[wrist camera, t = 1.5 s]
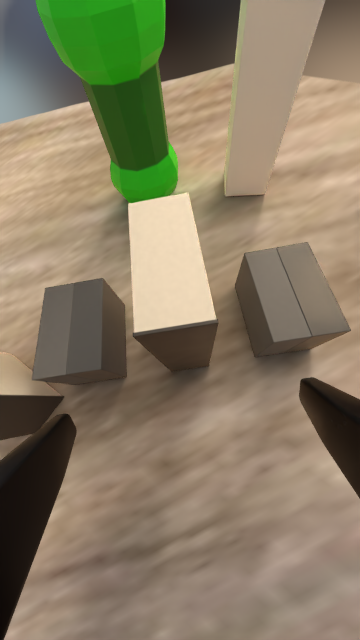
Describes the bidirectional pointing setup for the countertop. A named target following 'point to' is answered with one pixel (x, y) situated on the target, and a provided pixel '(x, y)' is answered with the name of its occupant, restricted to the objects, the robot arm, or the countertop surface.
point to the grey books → (255, 300)
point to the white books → (23, 399)
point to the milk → (265, 86)
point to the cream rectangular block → (170, 283)
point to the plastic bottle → (120, 84)
